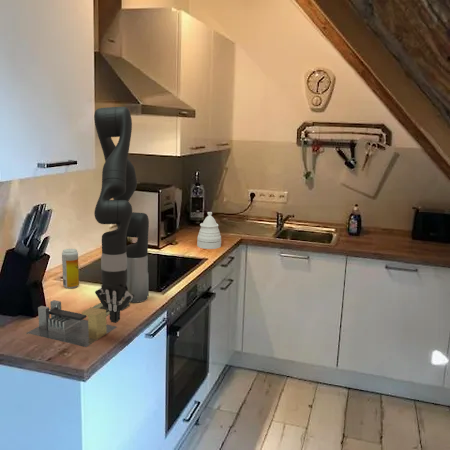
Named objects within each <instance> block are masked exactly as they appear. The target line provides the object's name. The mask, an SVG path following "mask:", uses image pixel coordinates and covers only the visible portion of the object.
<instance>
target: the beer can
mask: <svg viewBox="0 0 450 450" xmlns="http://www.w3.org/2000/svg"><path fill="white" fill-rule="evenodd" d="M78 252H79V251H78V250H77V249H76V248H66V249H63V250H62V252H61V266H62V285H63V287H64V288H65V289H68V290H69V289H75V288H77V287H78V286H79V285H80V272H79V253H78Z"/></svg>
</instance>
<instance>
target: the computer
mask: <svg viewBox="0 0 450 450" xmlns="http://www.w3.org/2000/svg"><path fill="white" fill-rule="evenodd" d="M123 301H124V299H123V300H122V303H123ZM105 302H106V301H105ZM122 303H121V304H122ZM130 303H131V302H130ZM130 303H129V304H128V306H127V307H126V308H125V309H127V308H128V307H130V306H131V305H130ZM91 307H92V308H97V309H98V308H99V309H104V310H106V317H108V316H110V312H109V309H108V308H104V306H103V305H102V303H101V302H99V303H98V304H96V305H94V306H91ZM121 311H123V310H121ZM121 311H120V312H121Z"/></svg>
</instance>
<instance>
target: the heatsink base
mask: <svg viewBox="0 0 450 450" xmlns="http://www.w3.org/2000/svg"><path fill="white" fill-rule="evenodd" d="M49 305H50V307H49V306H44V305H40V306H38V307H37V311H38V313H37V314H38V326H37V327H35V328H33V329H31V330H29V331H27V332H26V335H29V334H30V335H33V336H38V337H42V338H45V339H51V340H54V341H59V342H63V343H67V344H71V345H76V346H80V347H84V348H87V347H89V346H91V345H92V344H93V343H96V341H98V340H99V339H101V338H103V337H104V336H106V335H107V334H109V333H110V332H112V331H114V330H115V329H116V328H117V326H114V325H111V324H106V331H107V333H106V334H105V335H103V336H102V337H100V338H98V339H92V338H89V330H88V319H82V320H81V321H80V320H75V319H70V318H65V317H60V316H56V315H51V314H49V309H51V308H55V309H60V310H62V301H60V300H54V299H53V300H50V303H49ZM65 311H67V310H65Z"/></svg>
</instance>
